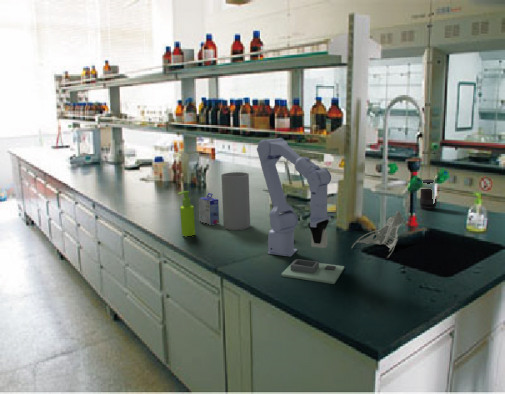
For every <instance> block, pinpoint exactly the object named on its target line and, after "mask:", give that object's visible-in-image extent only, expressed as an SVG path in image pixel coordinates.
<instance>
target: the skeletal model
mask: <svg viewBox="0 0 505 394" xmlns="http://www.w3.org/2000/svg"><path fill="white" fill-rule="evenodd" d="M404 222H405V220H404V218H403V214H401V212H400V211H397V210H396V213H395V215H392V216H390V217H388V219H387V220H386V224H385V225H384V226H383V227H381V228H380V229H376V230H374V231H370V232H368V233H366V234H365V233H364V235H362V236H360V237H359V238H358V239H356V241H355V242H354V243H353V244H352V246H351V249H353V247H354V246H355V245H356V244H357V243H360V244H365V245H369V244H374V245H379V246H380V245H385V247H388V248H389V250H388V252H389V254H388V255H387V256H386V259H388V258H390V256H391V255H392V253H394V250H395V246H396V245H397V243H398V241H399V237H398V236H399V235H398V231H399V228H400V226H402V224H404ZM369 234H370V235H369ZM368 235H369V236H368ZM365 236H367V237H365ZM374 236H376V237H375V238H374ZM364 237H365V238H364Z"/></svg>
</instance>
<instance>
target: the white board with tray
mask: <svg viewBox="0 0 505 394" xmlns="http://www.w3.org/2000/svg"><path fill="white" fill-rule="evenodd" d="M344 269H345V266H344V265H338V264H337V265H336V264H330V263H323V262H319V261H316V260H307V259H306V260H305V259H299V258H295V259H294V260H293V261H292V262H291V263H290V265H289V264H288V266H287V268H286V269H285V270H283V271H282V272H281V275H280V276H281V277H286V278H291V279H292V278H293V279H297V280H306V281H312V282H317V283H325V284H330V285H331V284H332V285H335V283H336V282H337V280H338V279H339V277H340V276H341V274H342V273H343V271H344Z"/></svg>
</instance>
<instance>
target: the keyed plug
mask: <svg viewBox="0 0 505 394" xmlns="http://www.w3.org/2000/svg"><path fill="white" fill-rule="evenodd" d="M310 232H311V231H310ZM310 235H311V238H310V239H311V240H310V243H311V244H310V245H311V247H312V248H320V249H325V248H327V247H328V232H327V228H326V229H323V232H322V238H321V243H320V244H318V243H314V240H313V236H312V232H311V233H310Z"/></svg>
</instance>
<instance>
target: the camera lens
mask: <svg viewBox="0 0 505 394" xmlns="http://www.w3.org/2000/svg"><path fill="white" fill-rule="evenodd" d="M434 180H435V179H422V180H421V181H423V183H427V184H430V183H433V182H434ZM419 198H420V199H419V205H420V209H421V210H424V211H434V210H436V209H435V208H436V205H437V196H436V199H435V203H434V204H433V199H432V190H431V189H420V197H419Z"/></svg>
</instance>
